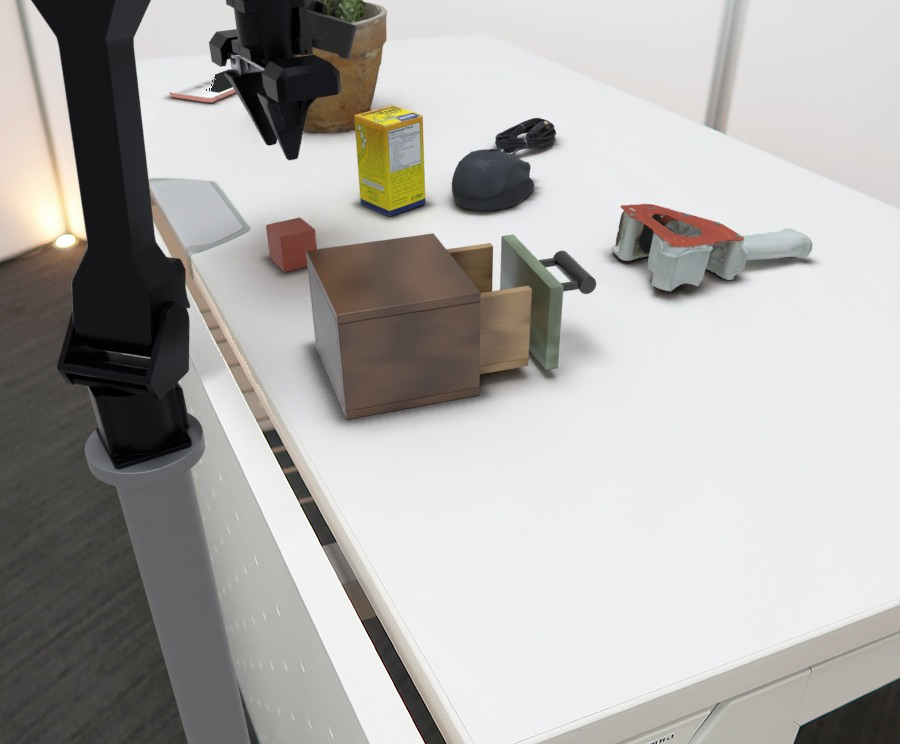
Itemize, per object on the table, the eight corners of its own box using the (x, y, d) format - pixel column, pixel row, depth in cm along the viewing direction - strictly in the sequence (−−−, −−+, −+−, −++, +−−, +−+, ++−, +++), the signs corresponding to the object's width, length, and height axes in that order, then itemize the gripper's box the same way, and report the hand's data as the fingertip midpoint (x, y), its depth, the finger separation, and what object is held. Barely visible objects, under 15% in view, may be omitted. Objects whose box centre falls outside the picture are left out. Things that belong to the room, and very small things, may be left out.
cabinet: (435, 327, 88) (433, 232, 83) (479, 395, 79) (481, 292, 73) (315, 347, 85) (305, 250, 80) (346, 419, 76) (336, 315, 70)
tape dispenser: (806, 267, 102) (632, 227, 108) (821, 221, 99) (640, 182, 105) (782, 331, 88) (584, 280, 95) (798, 279, 85) (592, 231, 92)
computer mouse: (439, 211, 112) (438, 166, 109) (505, 132, 137) (507, 94, 134) (515, 219, 110) (516, 174, 107) (568, 137, 135) (571, 98, 131)
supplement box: (395, 192, 117) (391, 103, 111) (426, 205, 114) (424, 114, 107) (358, 204, 114) (352, 113, 108) (389, 217, 111) (384, 125, 104)
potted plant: (360, 147, 132) (348, -50, 117) (247, 133, 137) (221, -56, 123) (409, 111, 146) (403, -68, 131) (304, 100, 151) (288, -73, 136)
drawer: (552, 303, 90) (557, 227, 86) (604, 359, 81) (612, 278, 77) (406, 327, 86) (403, 249, 82) (443, 388, 78) (442, 305, 73)
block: (284, 272, 98) (279, 237, 96) (270, 259, 101) (265, 224, 99) (318, 264, 100) (315, 229, 98) (303, 251, 103) (300, 216, 100)
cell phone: (168, 97, 153) (167, 91, 153) (235, 71, 166) (234, 66, 166) (211, 103, 150) (210, 97, 149) (275, 77, 163) (275, 71, 162)
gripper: (387, -12, 81) (395, 163, 90) (301, -40, 94) (316, 116, 103) (269, 1, 77) (290, 185, 86) (196, -30, 90) (221, 133, 99)
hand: (281, 151), depth 94 cm, fingers open, 5 cm apart
